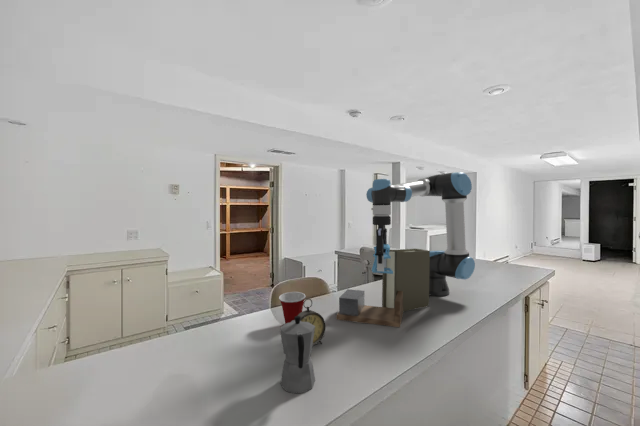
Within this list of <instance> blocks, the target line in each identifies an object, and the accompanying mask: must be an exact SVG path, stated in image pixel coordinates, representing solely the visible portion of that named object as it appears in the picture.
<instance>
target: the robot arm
mask: <svg viewBox="0 0 640 426" xmlns="http://www.w3.org/2000/svg"><path fill="white" fill-rule="evenodd" d="M472 188H473V187H472V181H471V178H470V177H469V175H468V174H467V173H465V172H463V171H462V172H461V171H458V172H457V171H455V172H454V171H453V172H450V173H440V174H434V175H430V176H428V177H424V178H423V177H422V178H418V179H417V180H416V181H409V182H402V183H397V184H392V183H391V179H389V178H378V179H377V178H376V179H374V180H373V181H372V187H370V188H368V190H367V191H366V195H365V196H366V199H367V201H368V202H370V203H372V207H371V211H372V215H373V216H372V225H373V226H377V229H376V230H375V232H376V241H375V243H376V244H375V245H376V254H375V253H374V254H375V255H377V271H383V272H384V268H386V267H387V266H386V259H384V254H386V253H385V251H386V249H384V244H388V242H387V241H388V240H387V237H388V235H387V233H388V229H387V228H386V226H390V225H391V224H392V221H391V218H392V217H391V216H390V215H391V213H392V204H391V203H404V202H405V203H406V202H409V201H410V200H411V198H412V197H417V196H419V197H441V201H442V202H443V203H444V205H445V226H446V228H445V229H446V230H445V231H446V246H447V247H446V249H445V250H429V251H430V266H429V296H433V297H434V296H435V297H444V296H445V297H446V296H449V294H450V288H449V285H448V281H447V278H446V277H450V278H453V279H457V280H465V281H466V280H468V279H469V278H471V276H472V275H473V274H474V271H475V267H476V263H475V260H474V258H473V257H471V256H470V251H468V250H467V249H466V229H465V228H466V226H465V205H464V204H465V203H464V202H465V201H466V200H467V198H468V195H470V194H471V192H472ZM387 252H388V250H387Z"/></svg>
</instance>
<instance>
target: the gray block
mask: <svg viewBox="0 0 640 426" xmlns="http://www.w3.org/2000/svg"><path fill="white" fill-rule="evenodd" d="M338 301H339V303H338V306H339V307H338V309H339V310H338V312H339V314H342V315H350V316H358V315H359V314H360V312H361V311H362V309H363V308H364V306H365V290H360V289H349V288H347V289H346V290H345V291H344V293H342V294H341V295H340V296H339V300H338Z"/></svg>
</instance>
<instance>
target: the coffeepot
mask: <svg viewBox="0 0 640 426" xmlns="http://www.w3.org/2000/svg"><path fill="white" fill-rule="evenodd" d="M294 318H295V320H292V321H291V322H290V323H286V324H285V323H283V325H282V326H281V327H280V328H279V332H280V338H281V346H282V351H283V354H284V356H285V358H284V361H283V367H282V373H281V379H280V386H281V387H282V389H283V390H284V391H286V392H288V393H291V394H303V393H306V392H309V391H310V390H311V389H313V388H314V385H315V382H316V377H315V371H314V370H315V369H314V366H313V359H312V357H311V353H312V351H313V346H314V345H313V338H314V330H315V326H314V325H312V324H311V323H309V322H302V321H300V318H301V317H300V316H295V317H294ZM312 345H313V346H312Z"/></svg>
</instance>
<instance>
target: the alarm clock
mask: <svg viewBox="0 0 640 426" xmlns="http://www.w3.org/2000/svg"><path fill="white" fill-rule="evenodd" d="M308 300H309V301H310V302H311V304H310V305H309V306H305V303H306V301H308ZM312 306H313V300H312V299H311V298H305V299H304V303H303V308H305V310H302V312H301V313H300V314H298V315H297V316H300V317H301V318H300V321H302V322H309V323H311V324H312V325H314V326H315V330H314V338H313V345H312V347H313V346H315V345H317V344H318V343H320V345H323V342H322V341H321V340H322V339H323V337H324V336H325V333H326V328H327V327H326V320H325V319H324V317H323V315H321V314H320V313H318V312H316V311H315V310H311V309H310V308H311V307H312Z"/></svg>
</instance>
